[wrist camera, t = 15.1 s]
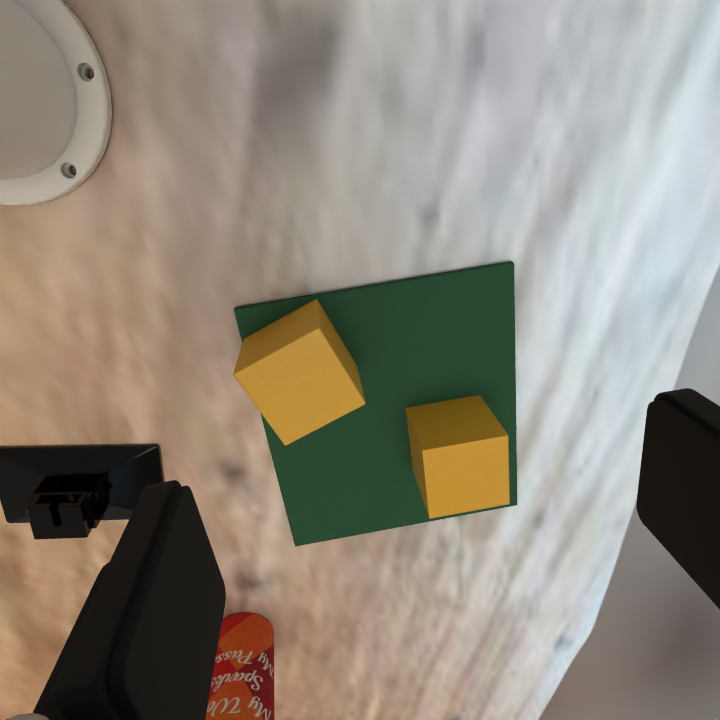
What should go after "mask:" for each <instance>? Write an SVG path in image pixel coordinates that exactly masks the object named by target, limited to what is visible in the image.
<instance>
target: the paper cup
mask: <svg viewBox="0 0 720 720" xmlns="http://www.w3.org/2000/svg"><path fill="white" fill-rule="evenodd" d="M205 720H274V636H273V628H272V625H271V624H270V622H269V621H268V620H267V619H265V618H264V617H262V616H260V615H257V614H254V613H237V614H233V615H230V616H228V617H226V618H224V619H223V620H222V625H221V631H220V637H219V642H218V648H217V654H216V660H215V666H214V672H213V678H212V684H211V690H210V695H209V701H208V707H207V713H206V719H205Z"/></svg>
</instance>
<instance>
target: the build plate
mask: <svg viewBox="0 0 720 720" xmlns="http://www.w3.org/2000/svg"><path fill="white" fill-rule="evenodd" d="M162 482H164V476H163V469H162V461H161V454H160V447H159V445H157V444H148V445H82V446H16V447H0V500H1V504H2V507H3V511H4V514H5V517H6V521H7V522H8V523H28V522H30V525H31V528H32V532H33V535H34V539H57V538H86V537H88V535H89V533H90V531H91V529H92V528H97V526H98V524H99V522H100V520H123V519H130V517H131V515H132V513H133V511H134V508H135V506H136V504H137V502H138V500H139V498H140V495H141V493H142V491H143V489H144V488H145V486H147V485H151V484H157V483H162Z"/></svg>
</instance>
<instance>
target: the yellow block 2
mask: <svg viewBox="0 0 720 720" xmlns="http://www.w3.org/2000/svg"><path fill="white" fill-rule="evenodd" d="M406 416H407V425H408V433H409V442H410V450H411V459H412V467H413V472H414V475H415V478H416V481H417V484H418V487H419V489H420V492H421V495H422V498H423V501H424V504H425V507H426V510H427V513H428V516H429V519H431V518H437V517H442V516H447V515H453V514H458V513H464V512H469V511H474V510H480V509H485V508H491V507H496V506H501V505H507V504H510V501H509V450H508V434H507V433H506V432H505V430H504V429H503V427H502V426H501V424H500V423H499V422H498V420H497V419H496V417H495V416H494V414H493V413H492V412H491V410H490V409H489V407H488V406H487V404H486V403H485V401H484V400H483V399H482V397H481V396H480V395H476V396H470V397H464V398H459V399H453V400H447V401H442V402H436V403H430V404H425V405H419V406H413V407H408V408H406Z"/></svg>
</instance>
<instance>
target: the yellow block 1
mask: <svg viewBox="0 0 720 720" xmlns="http://www.w3.org/2000/svg"><path fill="white" fill-rule="evenodd" d="M233 375H234V377H235V378H236V379H237V381H238V382H239V384H240V385H241V386H242V388H243V389H244V390H245V392H246V393H247V394H248V396H249V397H250V399H251V400H252V401H253V403H254V404H255V405H256V407H257V408H258V409H259V411H260V412H261V413H262V415H263V416H264V418H265V419H266V420H267V422H268V423H269V424H270V426H271V427H272V428H273V430H274V431H275V433H276V434H277V435H278V437H279V438H280V439H281V441H282V442H283V443H284V445H285V446H286V445H288V444H290V443H292V442H294V441H296V440H298V439H299V438H301V437H303V436H305V435H307V434H309V433H311V432H313V431H315V430H317V429H319V428H320V427H322V426H324V425H326V424H328V423H330V422H332V421H334V420H336V419H338V418H340V417H342V416H343V415H345V414H347V413H349V412H351V411H353V410H355V409H357V408H359V407H361V406H363V405H365V404H366V402H365V398H364V394H363V389H362V385H361V381H360V377H359V373H358V369H357V365H356V363H355V361H354V360H353V358H352V357H351V355H350V353H349V352H348V350H347V348H346V347H345V345H344V343H343V342H342V340H341V338H340V337H339V335H338V333H337V332H336V330H335V328H334V327H333V325H332V323H331V322H330V320H329V318H328V317H327V315H326V313H325V312H324V310H323V308H322V307H321V305H320V303H319V302H318V300H317V299H315V300H313V301H311V302H310V303H308V304H306V305H304V306H302V307H301V308H299V309H297V310H295V311H293V312H292V313H290V314H288V315H286V316H284V317H282V318H281V319H279V320H277V321H275V322H273V323H272V324H270V325H268V326H266V327H264V328H263V329H261V330H259V331H257V332H255V333H254V334H252V335H250V336H248V337H246V338H245V339H244V340H243V344H242V347H241V350H240V353H239V357H238V360H237V363H236V367H235V370H234V373H233Z"/></svg>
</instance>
